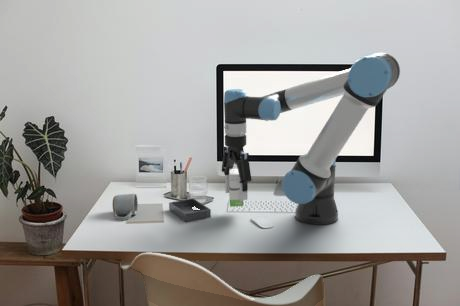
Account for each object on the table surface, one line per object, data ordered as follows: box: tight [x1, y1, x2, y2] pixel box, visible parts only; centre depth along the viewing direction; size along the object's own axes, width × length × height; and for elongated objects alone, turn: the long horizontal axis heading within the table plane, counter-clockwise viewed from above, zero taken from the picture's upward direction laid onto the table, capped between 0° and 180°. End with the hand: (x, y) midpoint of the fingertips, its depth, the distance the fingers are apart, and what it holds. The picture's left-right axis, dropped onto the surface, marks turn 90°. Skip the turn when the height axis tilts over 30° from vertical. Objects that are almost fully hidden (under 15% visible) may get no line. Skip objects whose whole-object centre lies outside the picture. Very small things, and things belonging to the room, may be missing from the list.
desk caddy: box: [168, 198, 212, 223], centre depth 207 cm, size 10×14×3 cm
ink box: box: [228, 167, 244, 207], centre depth 201 cm, size 9×5×12 cm, turn 0°
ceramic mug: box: [112, 193, 139, 221], centre depth 205 cm, size 11×8×8 cm
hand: (236, 195), depth 202 cm, fingers closed on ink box, 9 cm apart
